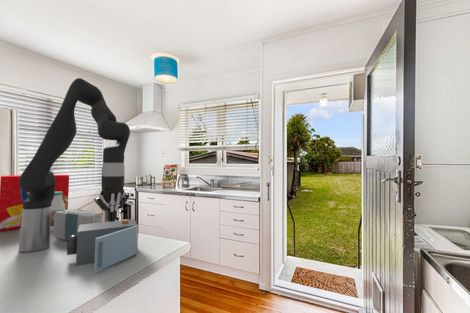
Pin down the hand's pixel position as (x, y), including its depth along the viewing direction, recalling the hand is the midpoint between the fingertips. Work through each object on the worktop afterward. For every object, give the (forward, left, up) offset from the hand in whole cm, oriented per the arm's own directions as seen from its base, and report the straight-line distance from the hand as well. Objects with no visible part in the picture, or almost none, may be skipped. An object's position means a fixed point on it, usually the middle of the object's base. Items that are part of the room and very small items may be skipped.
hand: (112, 221), depth 84 cm
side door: (+2, -3, -14) cm, 15 cm away
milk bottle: (-24, +56, -16) cm, 63 cm away
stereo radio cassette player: (-12, +33, -16) cm, 39 cm away
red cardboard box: (-35, +69, -16) cm, 79 cm away
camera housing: (-2, +8, -15) cm, 18 cm away
